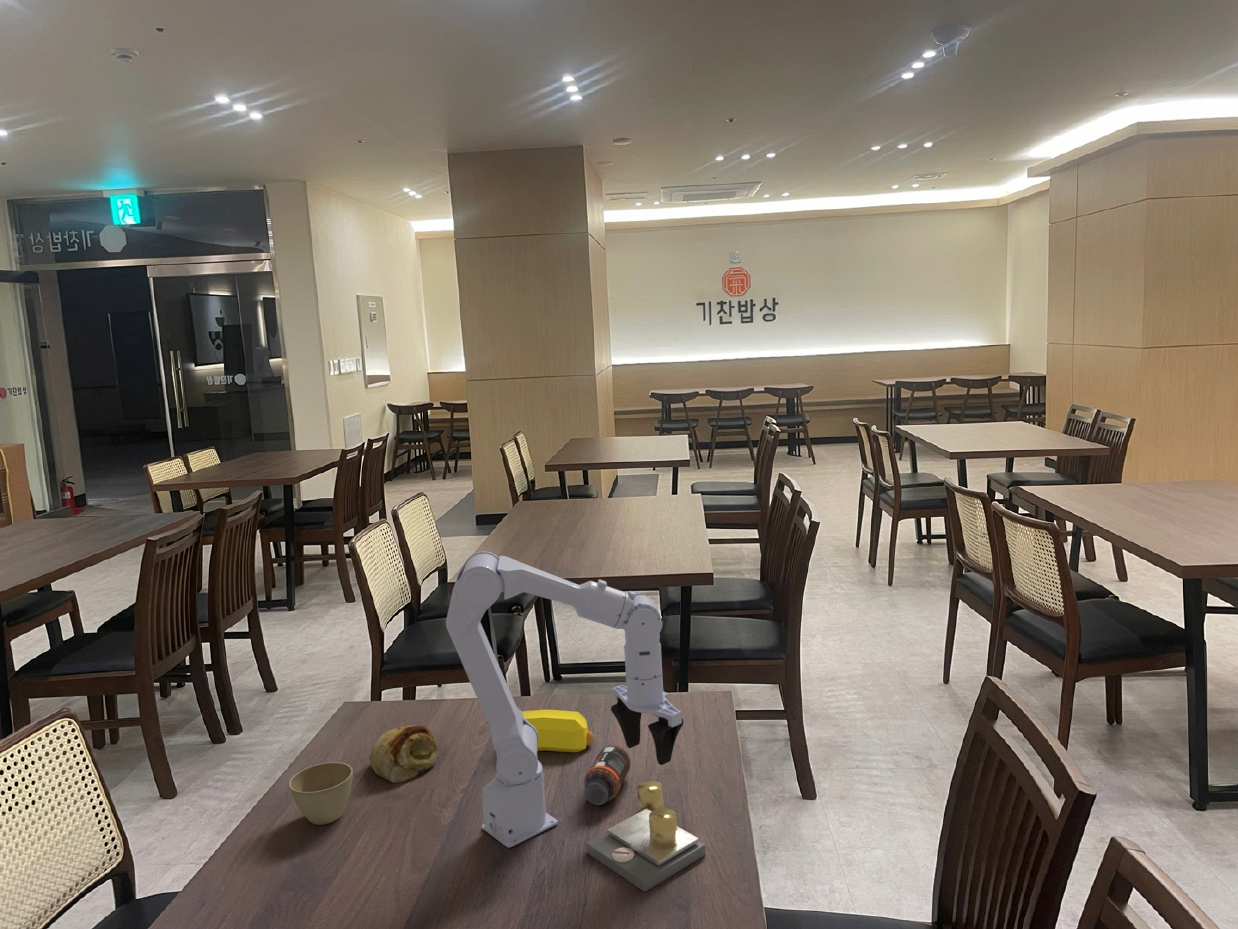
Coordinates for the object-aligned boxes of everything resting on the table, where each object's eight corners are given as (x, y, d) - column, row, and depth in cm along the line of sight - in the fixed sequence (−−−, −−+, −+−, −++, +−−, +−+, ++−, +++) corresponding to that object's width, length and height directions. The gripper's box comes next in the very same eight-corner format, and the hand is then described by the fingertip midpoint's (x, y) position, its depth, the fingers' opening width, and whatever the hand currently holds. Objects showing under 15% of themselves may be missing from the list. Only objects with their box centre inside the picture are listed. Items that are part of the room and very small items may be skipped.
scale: (644, 892, 120) (643, 879, 120) (586, 852, 130) (585, 840, 130) (705, 855, 128) (704, 842, 128) (646, 820, 138) (645, 808, 138)
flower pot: (368, 803, 148) (364, 763, 147) (334, 837, 138) (329, 795, 137) (317, 797, 151) (312, 759, 150) (280, 830, 141) (275, 789, 140)
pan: (658, 868, 123) (658, 862, 123) (607, 835, 132) (607, 829, 132) (698, 844, 128) (698, 838, 128) (646, 814, 137) (646, 808, 137)
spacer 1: (654, 820, 138) (652, 796, 137) (634, 812, 140) (632, 790, 140) (668, 807, 141) (667, 784, 140) (648, 800, 143) (646, 778, 143)
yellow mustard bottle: (591, 757, 160) (597, 737, 167) (589, 722, 159) (595, 704, 166) (495, 756, 162) (505, 737, 169) (492, 722, 161) (503, 704, 168)
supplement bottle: (602, 739, 152) (583, 771, 141) (635, 750, 150) (617, 784, 140) (595, 768, 153) (575, 803, 142) (627, 780, 152) (609, 816, 141)
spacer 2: (662, 852, 125) (661, 826, 124) (644, 840, 128) (643, 815, 127) (683, 841, 127) (682, 816, 127) (664, 830, 131) (663, 805, 130)
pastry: (419, 786, 153) (414, 744, 151) (355, 781, 156) (350, 739, 155) (453, 748, 166) (449, 708, 165) (393, 744, 169) (389, 705, 168)
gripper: (694, 678, 133) (698, 761, 135) (634, 654, 145) (638, 730, 147) (660, 692, 129) (664, 777, 131) (600, 666, 140) (605, 745, 142)
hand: (648, 754), depth 139 cm, fingers open, 7 cm apart
